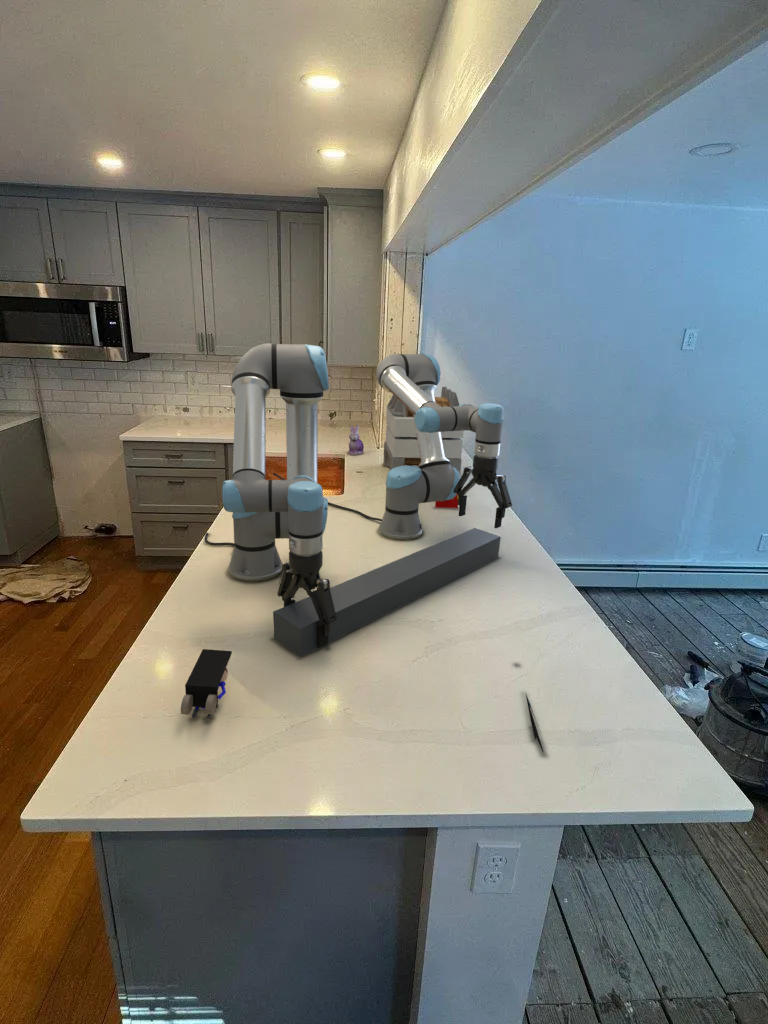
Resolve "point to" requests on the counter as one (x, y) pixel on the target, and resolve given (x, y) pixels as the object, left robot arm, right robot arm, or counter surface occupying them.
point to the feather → (534, 723)
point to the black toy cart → (206, 682)
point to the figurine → (355, 442)
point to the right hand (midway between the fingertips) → (479, 521)
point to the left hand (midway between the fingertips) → (306, 635)
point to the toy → (447, 503)
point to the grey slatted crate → (404, 438)
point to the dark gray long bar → (385, 589)
